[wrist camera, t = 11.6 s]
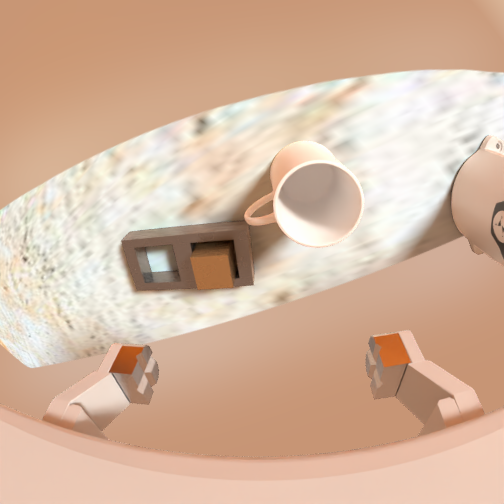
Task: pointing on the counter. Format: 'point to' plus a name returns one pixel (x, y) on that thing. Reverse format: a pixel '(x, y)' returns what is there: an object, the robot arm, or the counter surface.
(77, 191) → the counter surface
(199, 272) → the wooden toy block
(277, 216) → the mug
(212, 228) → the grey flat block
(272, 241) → the counter surface
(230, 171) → the counter surface
